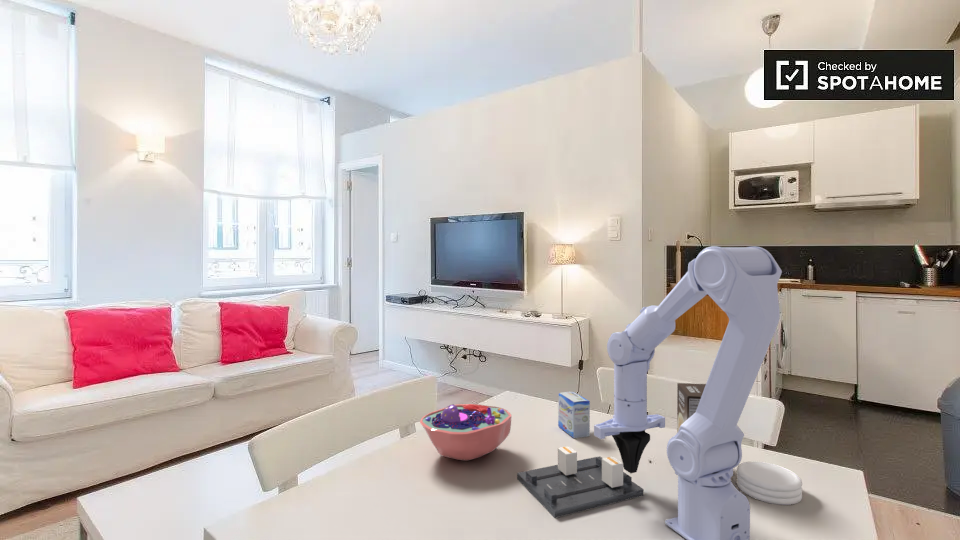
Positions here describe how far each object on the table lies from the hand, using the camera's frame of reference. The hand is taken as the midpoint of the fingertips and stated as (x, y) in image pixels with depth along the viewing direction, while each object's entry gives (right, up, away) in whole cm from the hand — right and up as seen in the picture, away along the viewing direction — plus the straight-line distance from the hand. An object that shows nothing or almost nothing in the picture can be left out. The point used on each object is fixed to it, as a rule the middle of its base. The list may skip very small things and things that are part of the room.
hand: (630, 470), depth 84 cm
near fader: (-4, -2, -1) cm, 4 cm away
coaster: (+24, -3, -2) cm, 25 cm away
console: (-10, -3, 0) cm, 10 cm away
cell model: (-30, -3, +15) cm, 34 cm away
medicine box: (-5, -3, +27) cm, 27 cm away
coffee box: (+16, -3, +7) cm, 17 cm away
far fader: (-11, -2, +3) cm, 12 cm away
